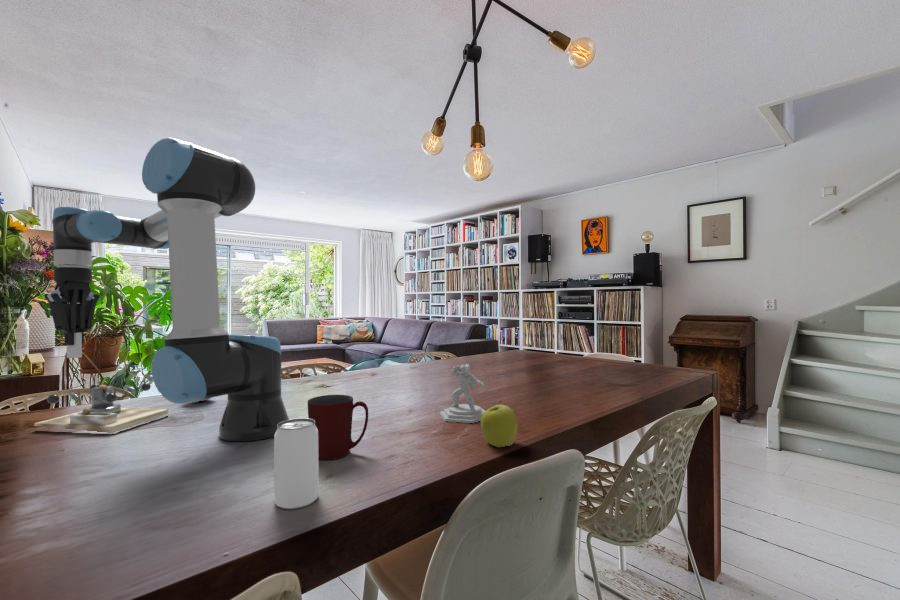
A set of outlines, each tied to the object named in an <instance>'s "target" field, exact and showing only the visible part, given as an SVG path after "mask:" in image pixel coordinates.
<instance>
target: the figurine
mask: <svg viewBox="0 0 900 600" xmlns="http://www.w3.org/2000/svg"><path fill="white" fill-rule="evenodd" d="M451 369H452V370H451V371H450V375H451V376H453V377H454V378H457V379H458V380H457V383H458V384H460V385H459V386H460V387H459V388H457V389H455V390H454V391H453V392H452V393H451V398H452V401H453V404H452V405H450V406H449V407H448V408H444V409H443V410H442V411H439V416H440V417H441V416H442V417H441V418H442V419H443V421H444V422H445V421H448V423H456V422H463V423H462V424H468V423H473V424H475V423H474V422H476V423H479V422H478V421H480V422H481V416H482V414H483V413H484V412H485V411H486V410H485V409H484V408H482V407H481V406H479V405H475V404H474V402H475V401H474V397H473V396H472V393H471V391H470V390H469V387H470V388H471V390H473V391H474V392H476V394H477V393H478V391H477V388H476V386H475V385H476V384H477V385H478V386H480V387H486V384H485V383H484V382H482V380H479V379H478V377H476V376H475V375H474V374H471V373H470V370H471V365H470V364H469V363H466V364H465V363H461V365H457V366H453V368H451ZM474 383H475V384H474ZM463 394H464V397H465V399H466V400H465V401H466V403H461V404H460V401H461V399H460V396H462V395H463Z"/></svg>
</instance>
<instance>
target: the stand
mask: <svg viewBox="0 0 900 600" xmlns="http://www.w3.org/2000/svg"><path fill="white" fill-rule="evenodd" d="M89 408H90V407H86V408H84V409H82V410H81V411H78V412H73V413H70V414H66V415H61V416H58V417H57V416H56V417H53V418H50V419H46V420H42V421H38V422H34V423H33V424H34V425H33V426H41V427H51V428H65V429H75V430H87V431H97V432H108V433H113V432H116V431H119V430H122V429H125V428H128V427H132V426H134V425H137V424H140V423H143V422H147V421H150V420H152V419H155V418H158V417H160V416H163V415H166V414H168V415H169V409H167V408H164V409H163V408H141V407H140V408H137V407H121V411H120V412H117V413H97V412H91V409H89Z"/></svg>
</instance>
